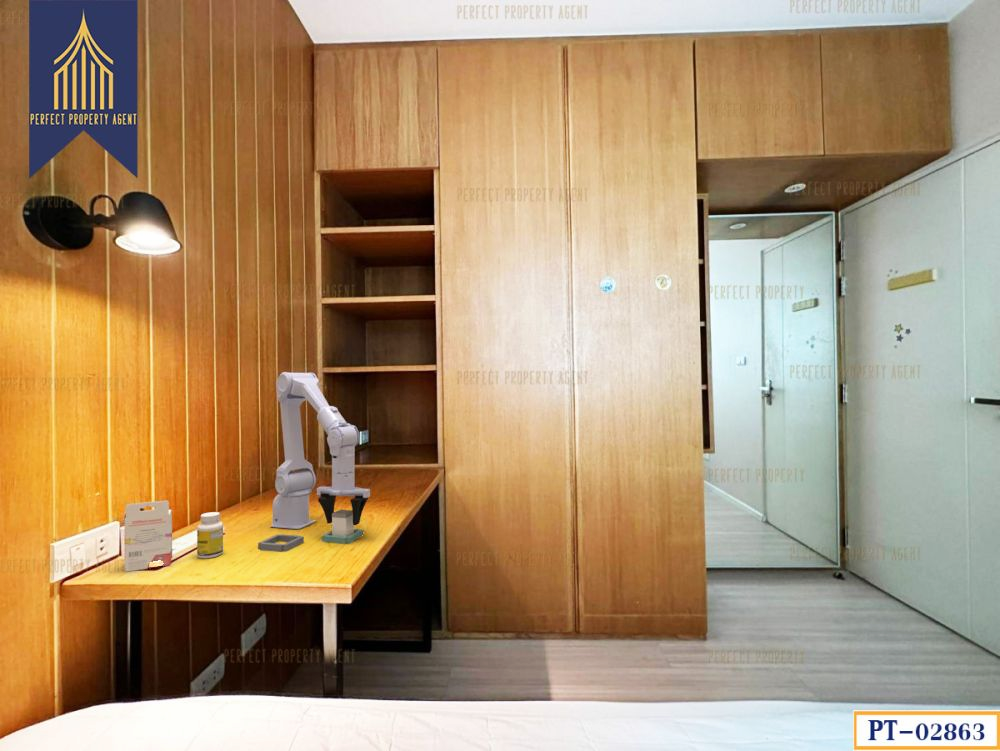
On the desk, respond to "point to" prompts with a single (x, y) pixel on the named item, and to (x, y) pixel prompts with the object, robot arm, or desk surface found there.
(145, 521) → the ink cartridge box
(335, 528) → the plug
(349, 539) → the socket
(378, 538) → the desk surface
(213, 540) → the supplement bottle
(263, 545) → the socket
